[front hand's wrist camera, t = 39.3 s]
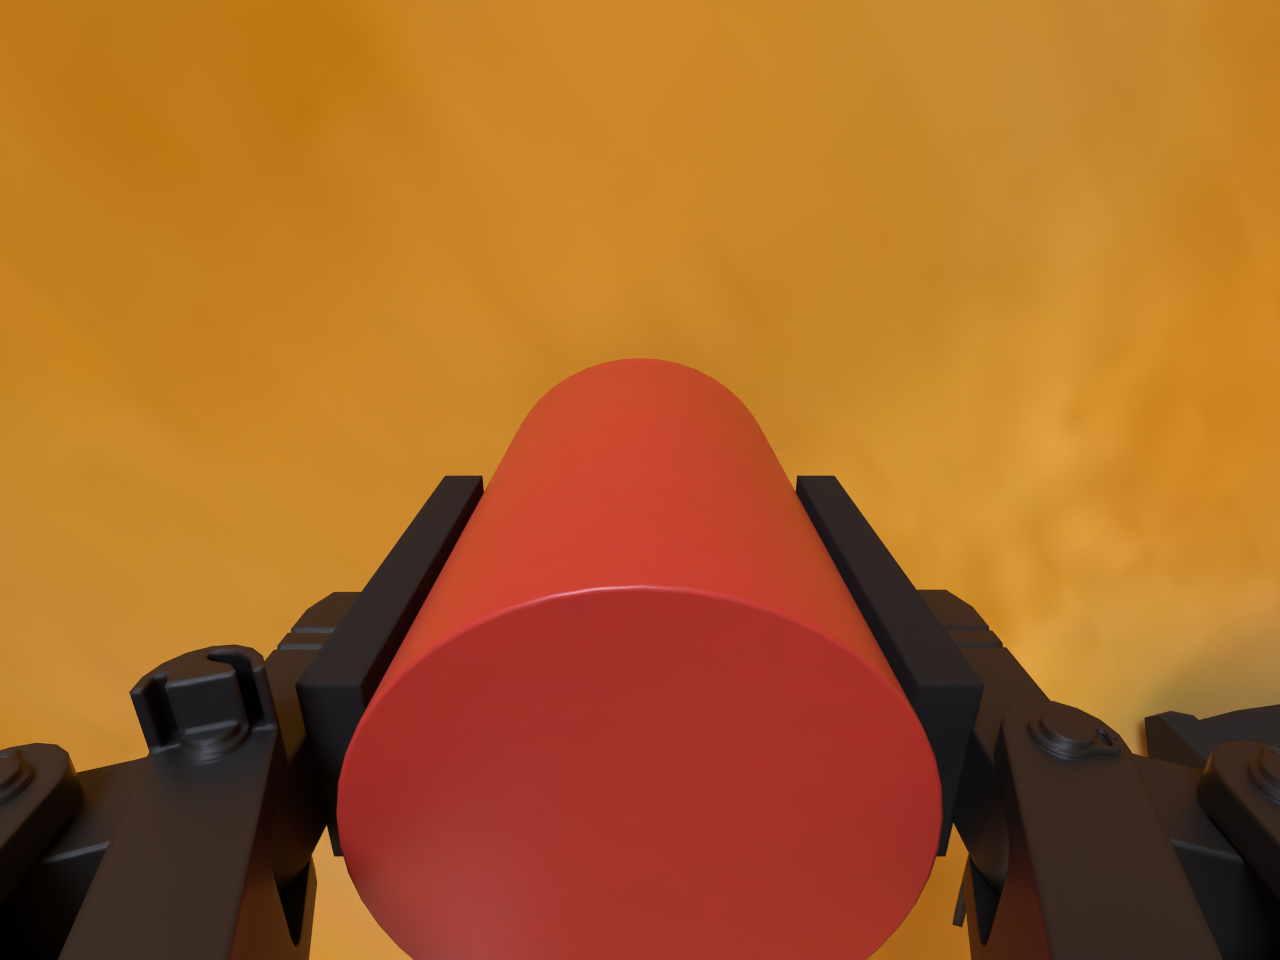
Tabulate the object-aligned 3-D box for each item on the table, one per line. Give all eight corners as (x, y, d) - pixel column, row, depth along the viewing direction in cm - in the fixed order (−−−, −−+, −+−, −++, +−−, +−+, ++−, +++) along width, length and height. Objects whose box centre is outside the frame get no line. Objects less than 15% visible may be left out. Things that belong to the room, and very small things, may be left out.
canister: (695, 304, 15) (786, 462, 6) (817, 535, 17) (1027, 926, 8) (452, 442, 16) (200, 761, 7) (594, 643, 18) (547, 1093, 9)
